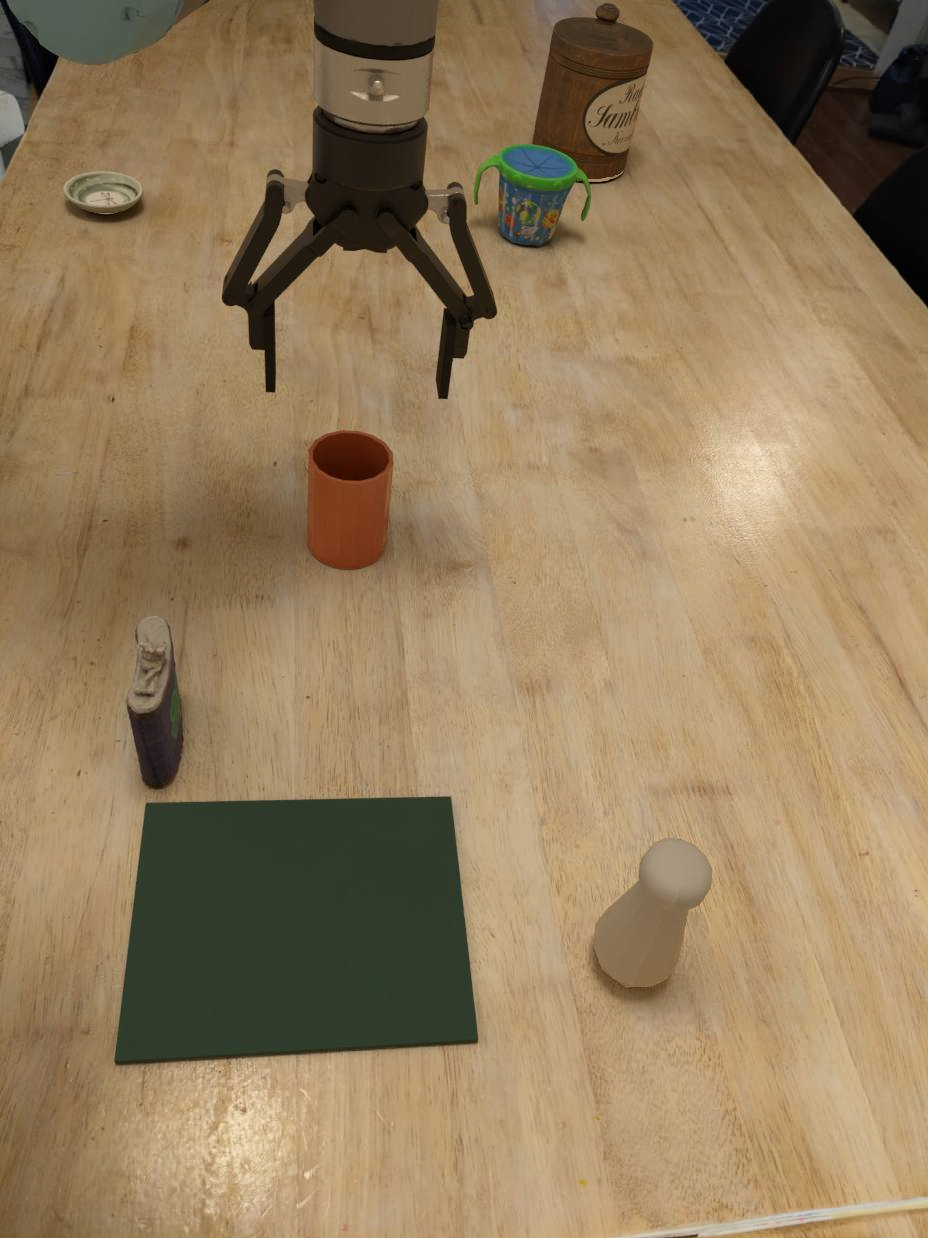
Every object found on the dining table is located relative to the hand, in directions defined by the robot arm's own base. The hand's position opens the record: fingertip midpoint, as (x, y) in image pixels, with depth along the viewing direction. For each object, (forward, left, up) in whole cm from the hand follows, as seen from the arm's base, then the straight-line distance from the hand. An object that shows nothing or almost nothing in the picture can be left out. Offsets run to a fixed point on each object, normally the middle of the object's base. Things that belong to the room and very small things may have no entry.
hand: (357, 386), depth 82 cm
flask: (-15, -22, -17) cm, 32 cm away
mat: (-4, -37, -17) cm, 41 cm away
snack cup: (+26, +62, -17) cm, 69 cm away
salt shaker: (+18, -41, -17) cm, 48 cm away
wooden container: (+38, +87, -17) cm, 96 cm away
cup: (0, 0, -17) cm, 17 cm away
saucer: (-29, +62, -17) cm, 71 cm away
